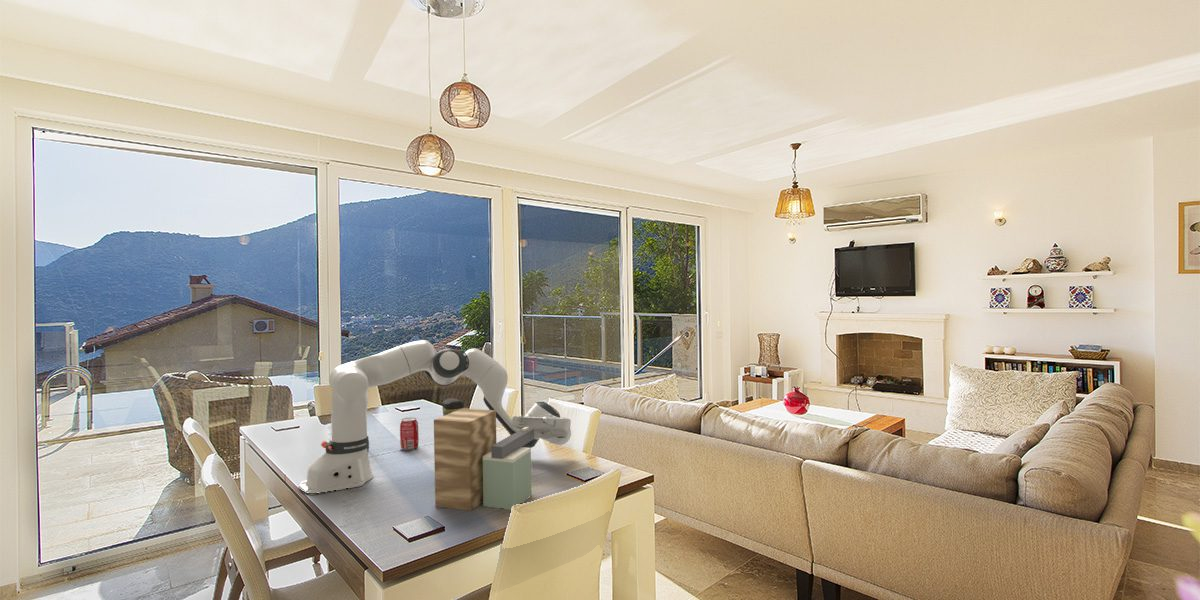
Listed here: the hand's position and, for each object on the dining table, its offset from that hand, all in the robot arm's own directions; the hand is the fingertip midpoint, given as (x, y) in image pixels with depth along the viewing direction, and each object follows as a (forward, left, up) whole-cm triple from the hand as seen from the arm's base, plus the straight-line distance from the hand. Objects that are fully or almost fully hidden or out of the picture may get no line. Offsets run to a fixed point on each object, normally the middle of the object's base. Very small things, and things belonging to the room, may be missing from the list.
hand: (531, 419), depth 186 cm
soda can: (-14, +67, -21) cm, 71 cm away
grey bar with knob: (-11, -7, -6) cm, 14 cm away
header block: (-15, -9, -21) cm, 27 cm away
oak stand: (-23, +2, -21) cm, 31 cm away
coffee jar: (+3, +62, -21) cm, 65 cm away
